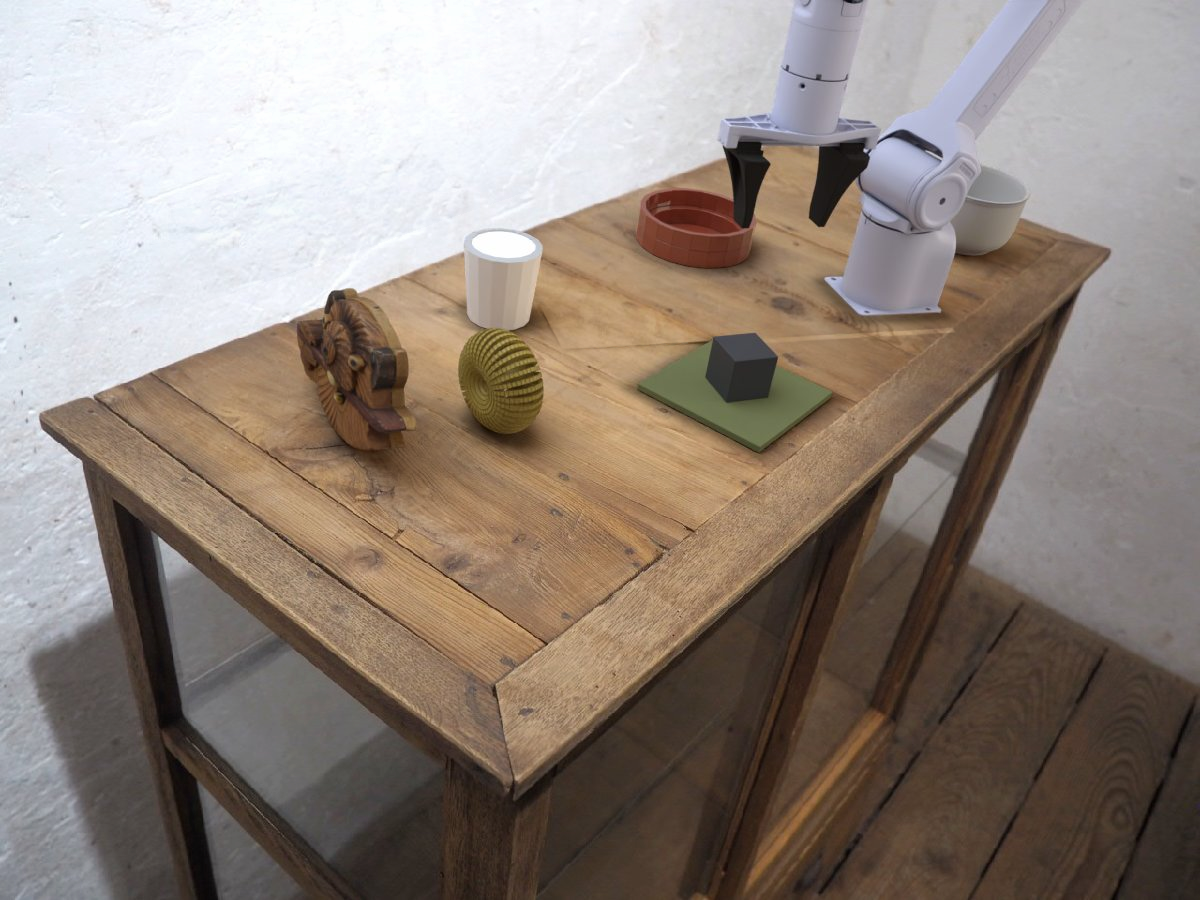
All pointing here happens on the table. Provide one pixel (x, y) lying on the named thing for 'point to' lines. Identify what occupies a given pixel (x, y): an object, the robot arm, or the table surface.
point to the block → (741, 367)
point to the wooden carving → (358, 371)
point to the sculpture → (500, 380)
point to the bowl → (693, 228)
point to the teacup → (989, 211)
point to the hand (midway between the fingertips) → (779, 223)
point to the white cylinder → (501, 277)
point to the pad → (739, 419)
